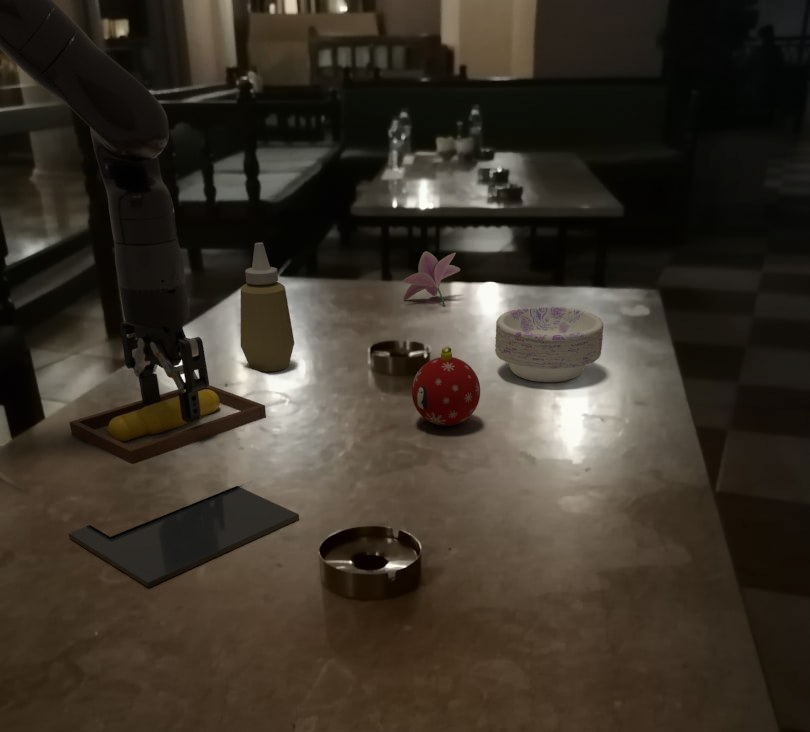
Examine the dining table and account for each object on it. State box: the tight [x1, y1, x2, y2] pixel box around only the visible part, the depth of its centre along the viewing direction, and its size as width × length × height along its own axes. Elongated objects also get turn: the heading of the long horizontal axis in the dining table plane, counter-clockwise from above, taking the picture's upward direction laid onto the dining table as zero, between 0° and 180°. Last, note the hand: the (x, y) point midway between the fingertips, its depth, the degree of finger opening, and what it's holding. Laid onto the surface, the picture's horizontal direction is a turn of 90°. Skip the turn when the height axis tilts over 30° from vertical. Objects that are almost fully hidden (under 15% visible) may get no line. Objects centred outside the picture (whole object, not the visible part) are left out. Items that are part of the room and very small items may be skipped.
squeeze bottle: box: [240, 242, 295, 372], centre depth 132 cm, size 8×8×18 cm
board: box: [68, 485, 300, 589], centre depth 91 cm, size 18×14×1 cm
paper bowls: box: [494, 306, 604, 383], centre depth 131 cm, size 15×15×8 cm
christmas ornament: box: [411, 346, 481, 427], centre depth 113 cm, size 9×9×10 cm
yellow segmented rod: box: [107, 389, 221, 443], centre depth 113 cm, size 16×4×4 cm, turn 137°
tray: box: [69, 384, 267, 465], centre depth 113 cm, size 20×14×2 cm
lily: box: [402, 250, 461, 307], centre depth 167 cm, size 12×12×10 cm
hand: (171, 411), depth 112 cm, fingers open, 8 cm apart
